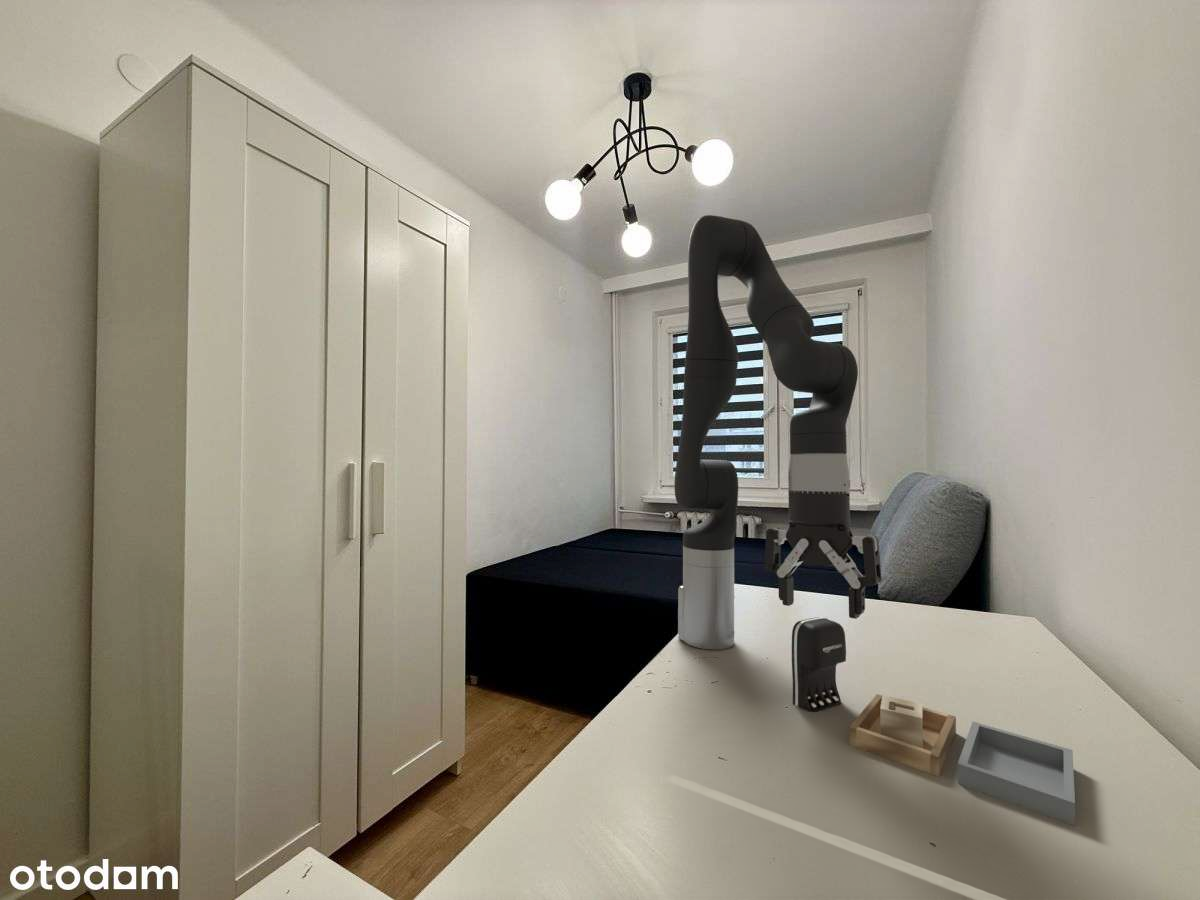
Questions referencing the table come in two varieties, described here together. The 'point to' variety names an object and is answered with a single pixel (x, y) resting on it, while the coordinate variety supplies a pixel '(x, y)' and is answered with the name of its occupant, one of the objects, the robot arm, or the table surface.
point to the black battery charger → (816, 663)
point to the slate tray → (1019, 771)
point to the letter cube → (902, 720)
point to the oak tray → (928, 759)
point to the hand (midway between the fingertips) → (820, 610)
